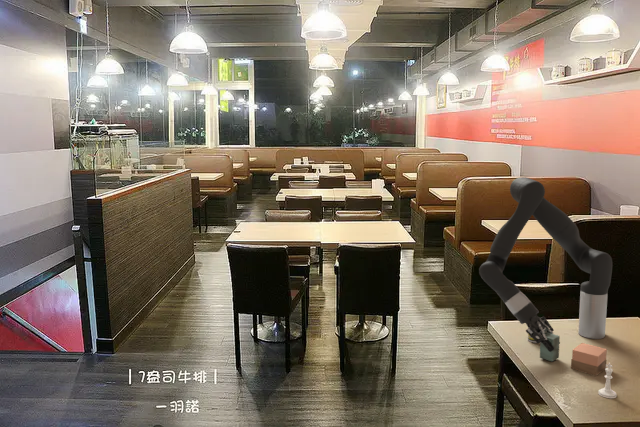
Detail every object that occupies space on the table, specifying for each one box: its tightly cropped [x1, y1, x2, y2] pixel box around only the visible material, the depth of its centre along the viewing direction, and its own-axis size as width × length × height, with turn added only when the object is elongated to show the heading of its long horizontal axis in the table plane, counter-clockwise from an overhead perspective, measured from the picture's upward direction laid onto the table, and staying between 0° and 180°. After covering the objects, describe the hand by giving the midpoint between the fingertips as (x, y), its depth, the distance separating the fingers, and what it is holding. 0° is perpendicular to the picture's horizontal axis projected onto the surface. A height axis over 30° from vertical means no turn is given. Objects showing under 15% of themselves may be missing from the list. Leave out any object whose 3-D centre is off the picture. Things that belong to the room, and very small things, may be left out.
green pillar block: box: [539, 332, 560, 362], centre depth 189 cm, size 4×4×8 cm
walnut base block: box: [570, 359, 607, 377], centre depth 182 cm, size 8×8×4 cm
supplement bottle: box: [527, 333, 538, 344], centre depth 205 cm, size 5×5×8 cm
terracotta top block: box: [571, 342, 608, 367], centre depth 181 cm, size 8×8×4 cm
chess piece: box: [597, 362, 617, 399], centre depth 164 cm, size 5×5×10 cm
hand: (555, 347), depth 188 cm, fingers closed on green pillar block, 5 cm apart
